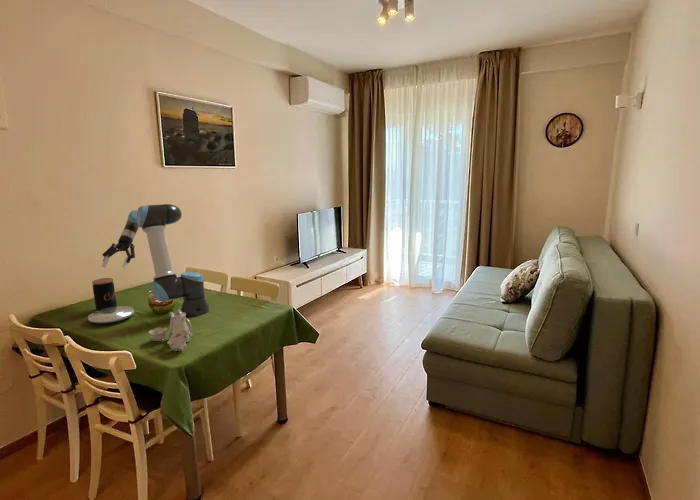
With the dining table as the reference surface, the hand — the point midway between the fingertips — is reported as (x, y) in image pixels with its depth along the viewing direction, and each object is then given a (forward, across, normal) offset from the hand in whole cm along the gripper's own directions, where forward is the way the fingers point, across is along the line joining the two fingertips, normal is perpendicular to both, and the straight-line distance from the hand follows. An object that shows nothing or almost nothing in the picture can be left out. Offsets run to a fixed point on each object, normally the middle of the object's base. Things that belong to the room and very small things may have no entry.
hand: (113, 267), depth 238 cm
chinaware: (+52, -66, +20) cm, 86 cm away
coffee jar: (+24, 0, -9) cm, 26 cm away
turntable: (+32, -14, +3) cm, 36 cm away
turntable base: (+34, -14, +2) cm, 37 cm away
